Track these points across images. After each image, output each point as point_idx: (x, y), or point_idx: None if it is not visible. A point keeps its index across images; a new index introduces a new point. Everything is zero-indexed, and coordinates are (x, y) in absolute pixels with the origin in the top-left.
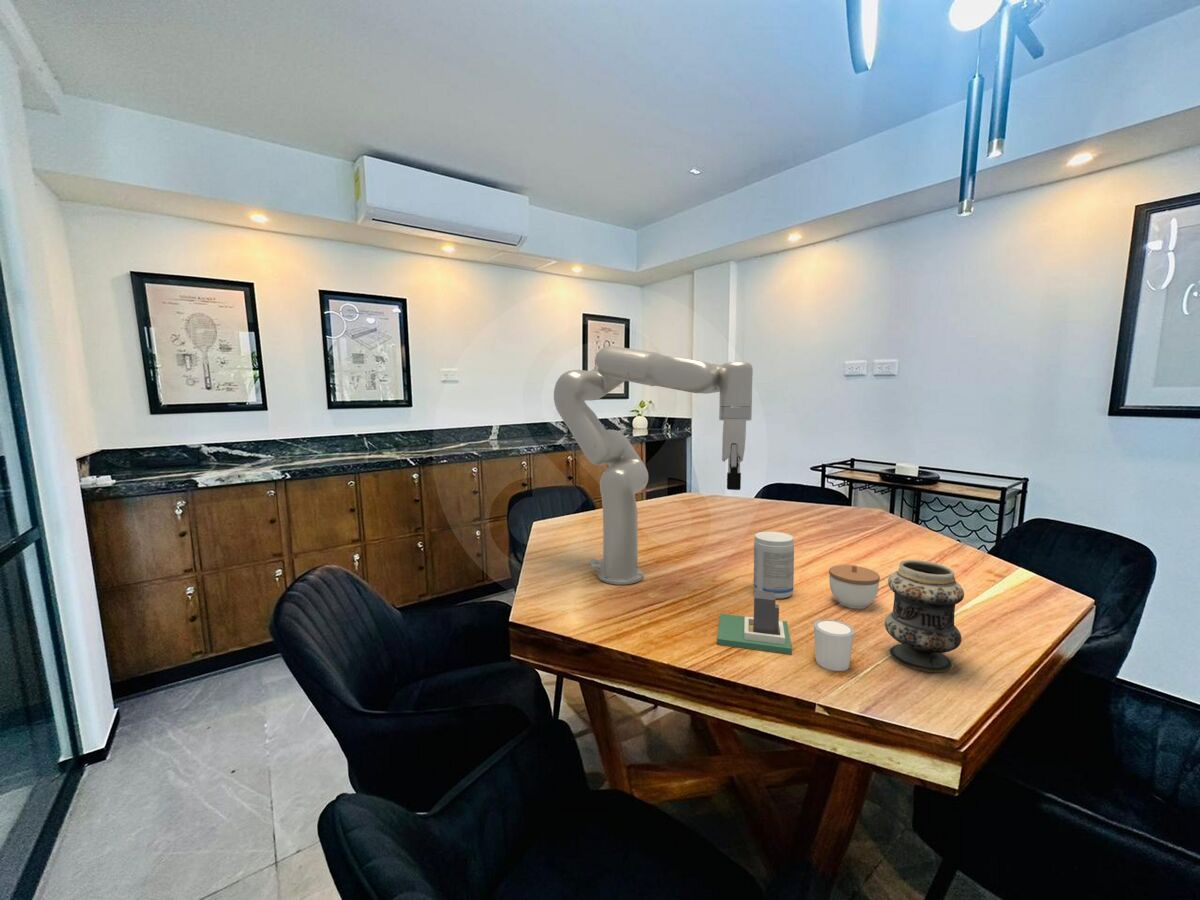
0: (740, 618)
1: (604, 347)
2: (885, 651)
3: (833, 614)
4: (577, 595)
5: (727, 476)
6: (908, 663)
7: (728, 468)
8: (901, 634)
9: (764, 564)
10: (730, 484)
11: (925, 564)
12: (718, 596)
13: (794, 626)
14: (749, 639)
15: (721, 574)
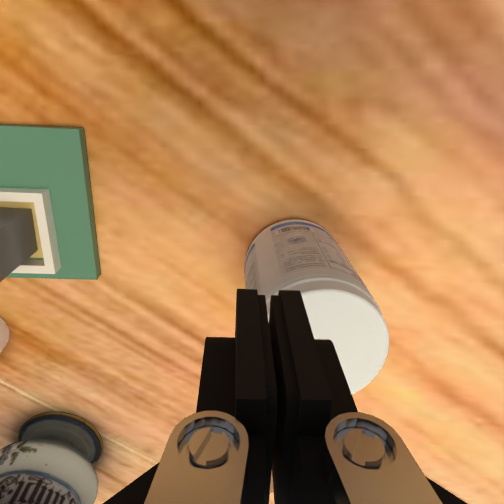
0: (69, 180)
1: None
2: (66, 408)
3: (195, 361)
4: None
5: (237, 371)
6: (24, 428)
7: (148, 492)
8: None
9: (255, 277)
10: (206, 344)
11: None
12: (231, 120)
13: (108, 288)
14: None
15: (412, 128)
